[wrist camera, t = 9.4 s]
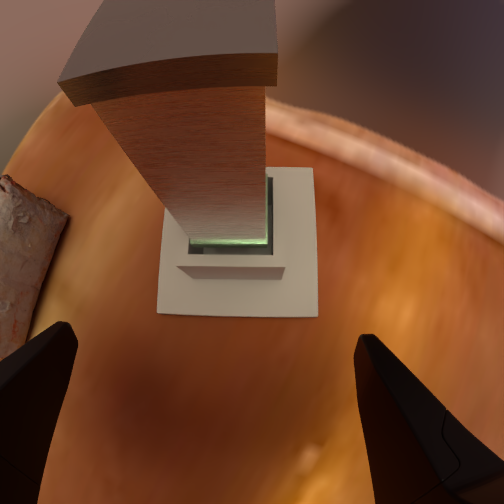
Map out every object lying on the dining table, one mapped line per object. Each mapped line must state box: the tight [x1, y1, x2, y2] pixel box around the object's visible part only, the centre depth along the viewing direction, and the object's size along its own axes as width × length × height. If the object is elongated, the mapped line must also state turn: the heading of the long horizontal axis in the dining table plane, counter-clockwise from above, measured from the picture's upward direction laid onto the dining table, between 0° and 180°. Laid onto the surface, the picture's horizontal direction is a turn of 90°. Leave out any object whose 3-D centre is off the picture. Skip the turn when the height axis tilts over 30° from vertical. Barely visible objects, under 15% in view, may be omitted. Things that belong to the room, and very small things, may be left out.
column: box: [57, 0, 278, 248], centre depth 11 cm, size 4×4×12 cm
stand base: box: [157, 167, 318, 317], centre depth 19 cm, size 10×10×6 cm
